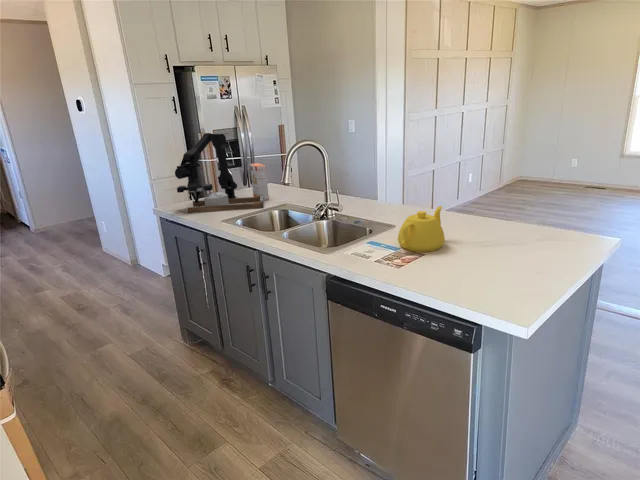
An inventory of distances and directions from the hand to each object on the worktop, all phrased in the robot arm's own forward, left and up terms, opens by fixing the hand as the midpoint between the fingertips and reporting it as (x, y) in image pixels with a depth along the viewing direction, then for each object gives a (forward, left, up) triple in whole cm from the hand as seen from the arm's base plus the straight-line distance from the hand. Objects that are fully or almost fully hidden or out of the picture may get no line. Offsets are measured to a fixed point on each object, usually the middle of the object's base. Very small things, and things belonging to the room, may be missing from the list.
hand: (197, 203), depth 243 cm
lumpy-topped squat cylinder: (0, +10, -4) cm, 11 cm away
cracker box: (-16, +35, -4) cm, 39 cm away
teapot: (+89, +101, -4) cm, 134 cm away
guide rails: (0, +16, -4) cm, 16 cm away
